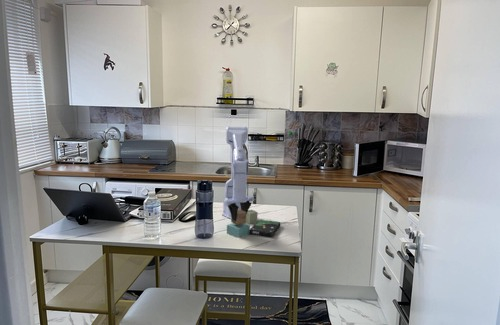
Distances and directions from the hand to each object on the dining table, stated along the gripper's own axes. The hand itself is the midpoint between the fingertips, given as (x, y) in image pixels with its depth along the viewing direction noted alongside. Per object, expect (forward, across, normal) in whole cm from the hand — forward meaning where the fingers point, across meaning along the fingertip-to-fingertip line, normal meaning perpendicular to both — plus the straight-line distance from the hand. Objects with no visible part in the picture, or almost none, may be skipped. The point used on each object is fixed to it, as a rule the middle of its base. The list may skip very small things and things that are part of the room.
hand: (238, 219), depth 164 cm
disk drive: (+7, +12, -4) cm, 15 cm away
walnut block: (+2, 0, 0) cm, 2 cm away
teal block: (+7, 0, 0) cm, 7 cm away
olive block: (+6, +14, +9) cm, 18 cm away
